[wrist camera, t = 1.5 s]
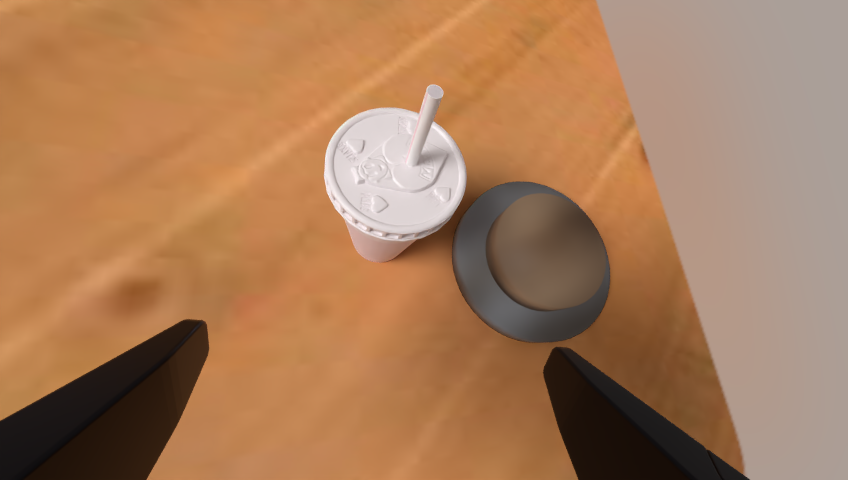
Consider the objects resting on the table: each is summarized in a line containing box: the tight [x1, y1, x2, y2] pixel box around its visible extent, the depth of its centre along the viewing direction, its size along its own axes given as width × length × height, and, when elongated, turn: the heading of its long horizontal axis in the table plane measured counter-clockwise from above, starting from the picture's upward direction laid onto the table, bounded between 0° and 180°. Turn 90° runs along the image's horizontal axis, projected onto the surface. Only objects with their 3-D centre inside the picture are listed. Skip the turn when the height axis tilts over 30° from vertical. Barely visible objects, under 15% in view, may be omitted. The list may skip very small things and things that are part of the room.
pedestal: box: [452, 182, 610, 343], centre depth 24 cm, size 12×12×4 cm
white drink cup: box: [324, 85, 466, 262], centre depth 17 cm, size 6×6×14 cm
